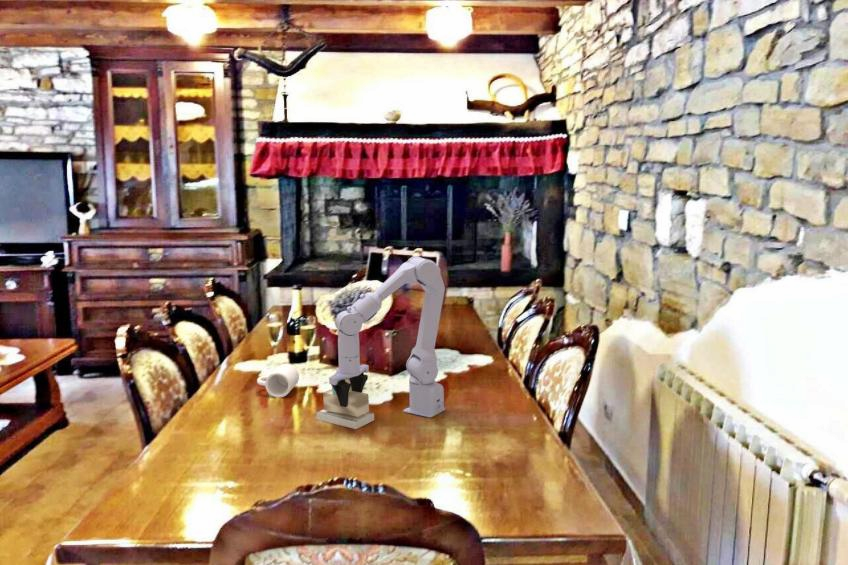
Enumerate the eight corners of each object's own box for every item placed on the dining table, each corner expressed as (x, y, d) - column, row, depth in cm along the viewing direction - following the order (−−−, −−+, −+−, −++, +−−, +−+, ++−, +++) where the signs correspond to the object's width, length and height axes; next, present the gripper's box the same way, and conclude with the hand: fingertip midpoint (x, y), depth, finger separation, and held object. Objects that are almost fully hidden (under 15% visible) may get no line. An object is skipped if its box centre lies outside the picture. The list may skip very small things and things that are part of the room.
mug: (299, 388, 226) (298, 363, 225) (291, 398, 217) (289, 372, 215) (263, 387, 228) (261, 363, 226) (252, 397, 218) (251, 372, 217)
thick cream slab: (369, 411, 195) (368, 393, 195) (357, 416, 191) (356, 398, 190) (335, 404, 202) (334, 387, 201) (323, 410, 198) (323, 392, 197)
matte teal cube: (347, 392, 196) (347, 382, 196) (340, 395, 194) (340, 384, 193) (339, 391, 198) (338, 380, 198) (332, 394, 196) (331, 383, 195)
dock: (374, 420, 197) (373, 413, 196) (355, 429, 190) (355, 421, 190) (335, 411, 204) (335, 404, 204) (316, 419, 198) (316, 412, 198)
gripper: (354, 347, 201) (355, 393, 204) (319, 359, 189) (321, 408, 192) (374, 351, 197) (375, 398, 200) (340, 363, 186) (341, 413, 188)
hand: (350, 403), depth 195 cm, fingers closed on thick cream slab, 5 cm apart
